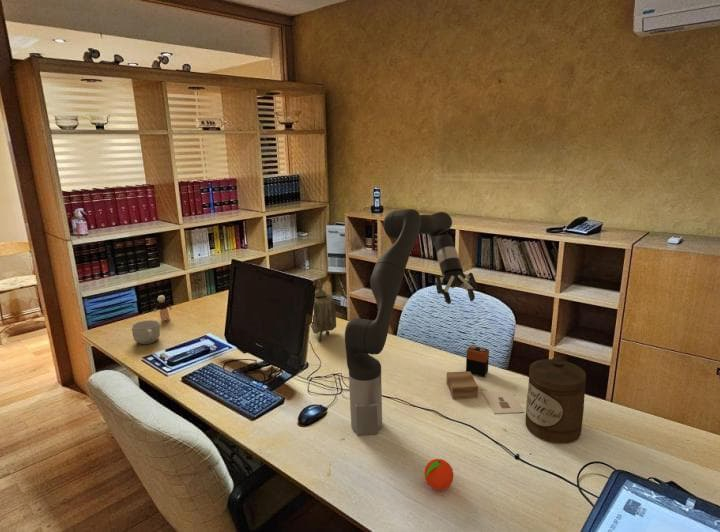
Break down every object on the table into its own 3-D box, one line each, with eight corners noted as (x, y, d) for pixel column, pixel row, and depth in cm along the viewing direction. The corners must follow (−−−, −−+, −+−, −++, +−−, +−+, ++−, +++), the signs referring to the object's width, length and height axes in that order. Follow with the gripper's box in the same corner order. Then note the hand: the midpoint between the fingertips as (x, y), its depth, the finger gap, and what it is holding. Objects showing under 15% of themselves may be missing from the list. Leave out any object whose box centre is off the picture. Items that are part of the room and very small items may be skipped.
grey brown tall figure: (309, 330, 207) (305, 276, 200) (329, 327, 209) (326, 273, 202) (316, 344, 193) (312, 286, 186) (337, 340, 196) (334, 283, 189)
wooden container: (514, 419, 139) (518, 352, 133) (554, 408, 144) (560, 342, 138) (550, 450, 126) (557, 376, 120) (593, 436, 131) (601, 364, 125)
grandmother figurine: (171, 317, 227) (167, 292, 223) (174, 319, 224) (170, 294, 221) (155, 321, 222) (150, 296, 219) (157, 324, 219) (153, 298, 216)
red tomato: (435, 503, 109) (435, 477, 107) (415, 486, 115) (415, 461, 113) (459, 487, 114) (460, 463, 112) (438, 472, 119) (438, 448, 117)
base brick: (477, 397, 151) (478, 386, 150) (452, 398, 151) (453, 387, 150) (469, 381, 161) (470, 371, 160) (446, 382, 161) (446, 372, 160)
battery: (469, 367, 170) (470, 342, 167) (488, 372, 167) (489, 346, 164) (465, 373, 167) (466, 347, 164) (484, 377, 163) (485, 351, 160)
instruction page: (523, 412, 143) (523, 411, 143) (493, 413, 143) (493, 412, 142) (510, 391, 154) (510, 390, 154) (482, 392, 154) (482, 391, 154)
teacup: (134, 339, 204) (131, 322, 202) (161, 334, 208) (158, 317, 206) (134, 352, 192) (131, 333, 190) (163, 346, 196) (160, 328, 194)
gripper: (433, 258, 169) (444, 299, 161) (470, 254, 171) (483, 295, 164) (428, 268, 175) (439, 308, 168) (464, 264, 178) (476, 304, 170)
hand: (461, 301), depth 166 cm, fingers open, 8 cm apart
